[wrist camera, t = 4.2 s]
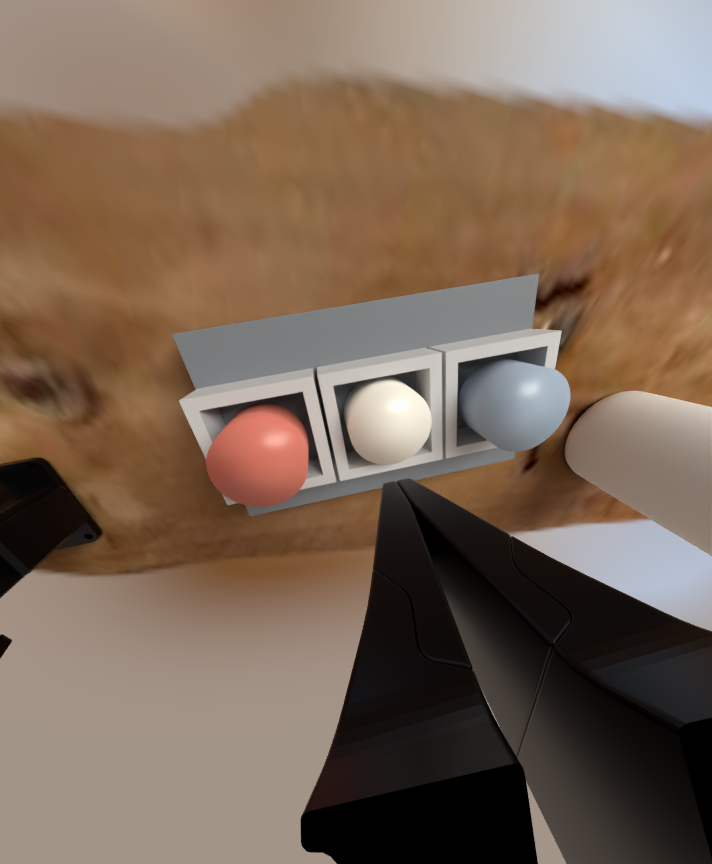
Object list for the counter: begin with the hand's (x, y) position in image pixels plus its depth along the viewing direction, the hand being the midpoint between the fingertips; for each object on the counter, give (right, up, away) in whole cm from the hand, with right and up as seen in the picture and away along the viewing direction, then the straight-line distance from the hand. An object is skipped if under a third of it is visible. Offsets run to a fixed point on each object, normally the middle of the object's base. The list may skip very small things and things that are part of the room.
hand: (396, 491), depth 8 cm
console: (0, +4, +9) cm, 10 cm away
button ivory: (0, +3, +6) cm, 7 cm away
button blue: (+6, +4, +6) cm, 9 cm away
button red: (-6, +1, +5) cm, 8 cm away
